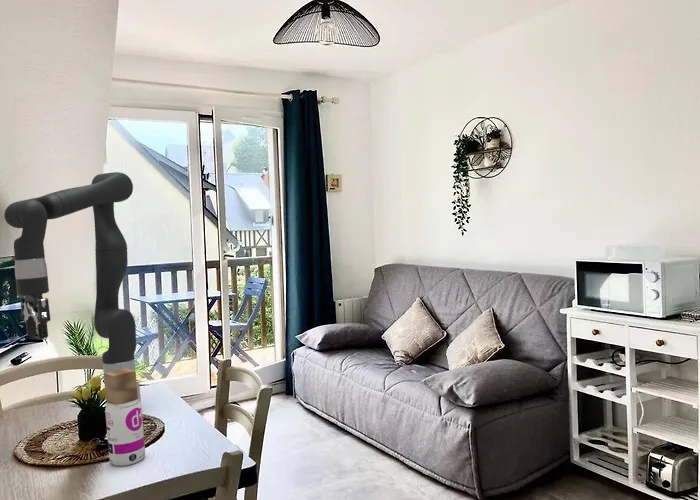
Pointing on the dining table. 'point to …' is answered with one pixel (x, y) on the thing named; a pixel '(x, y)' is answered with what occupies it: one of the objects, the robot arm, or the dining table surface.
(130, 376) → the beige wooden block
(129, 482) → the dining table surface
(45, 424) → the dining table surface
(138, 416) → the supplement can
